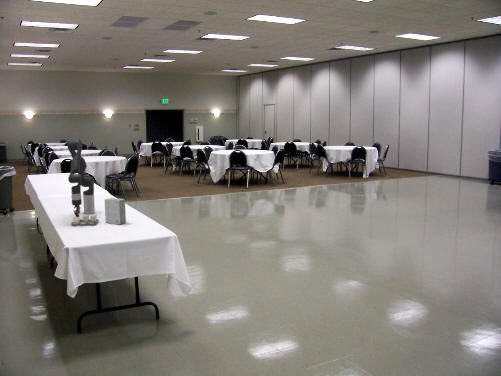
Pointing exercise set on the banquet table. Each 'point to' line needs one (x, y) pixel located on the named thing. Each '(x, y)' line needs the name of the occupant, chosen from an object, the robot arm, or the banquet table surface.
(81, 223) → the switch bank
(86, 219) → the tab
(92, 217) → the tab
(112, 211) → the hard drive box
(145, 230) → the banquet table surface
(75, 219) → the tab
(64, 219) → the banquet table surface
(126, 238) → the banquet table surface
